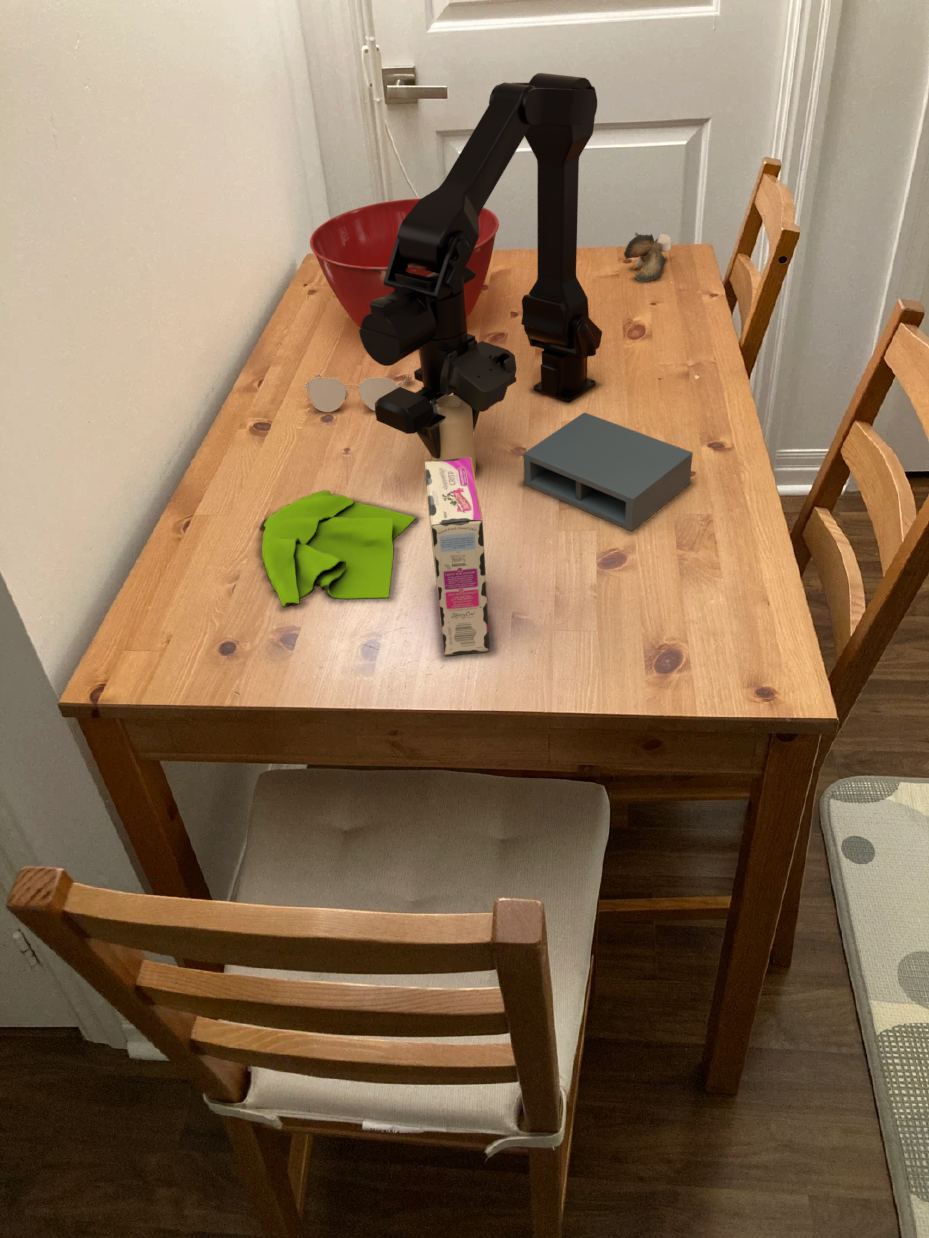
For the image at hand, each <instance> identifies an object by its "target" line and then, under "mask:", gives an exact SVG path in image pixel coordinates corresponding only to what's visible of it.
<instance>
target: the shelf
mask: <svg viewBox="0 0 929 1238" xmlns="http://www.w3.org/2000/svg"><path fill="white" fill-rule="evenodd" d="M692 462H693V452H692V451H690V450H687V449H684V448H681V447H679V446H676V445H674V444H671V443H668V442H666V441H663V440H661V439H657V438H655V437H652V436H650V435H647V434H645V433H641V432H638V431H636V430H634V429H630V428H628V427H625V426H623V425H620V424H617V423H614V422H612V421H609V420H607V419H603V418H602V417H598V416H595V415H593V414H590V413H587V412H583V413H581V414H579V415H577V417H575V418H574V419H572V420H571V421H569V422H568V423H566V424H564V425H563V426H562V427H560V428H558V429H557V430H556V431H554V432H553V433H552V434H550V435H548V436H547V437H546V438H544V439H543V440H541V441H540V442H538V443H537V444H535V445H534V446H532V447H531V448H529V449H527V450H526V451H524V453H523V476H524V477H523V479H524V480H523V481H524V482H523V483H524V485H525V486H527V487H529V488H531V489H534V490H536V491H538V492H541V493H543V494H545V495H548V496H550V497H552V498H554V499H557V500H558V501H562V502H564V503H566V504H568V505H570V506H572V507H575V508H577V509H579V510H581V511H584V512H586V513H589V514H590V515H593V516H595V517H598V518H600V519H602V520H604V521H606V522H609V523H610V524H613V525H616V526H618V527H620V528H623V529H624V530H627V531H629V532H633V531H635V529H637V528H638V527H639V526H640V525H642V524H643V523H644V522H645V521H646V520H648V519H649V518H650V517H651V516H653V515H654V514H655V513H657V511H659V510H661V508H663V506H665V505H666V504H667V503H669V502H670V501H671V500H672V499H673V498H675V497H676V496H677V495H679V493H681V492H683V491H684V490H685V489H686V488H687V487H688V486H689V485H690V483H691V473H692V465H693V464H692Z"/></svg>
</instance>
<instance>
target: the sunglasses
mask: <svg viewBox="0 0 929 1238" xmlns="http://www.w3.org/2000/svg"><path fill="white" fill-rule="evenodd" d="M407 379H408V380H407ZM406 381H408V383H410V382H411V380H410V375H409V374H407V375H406V377H405V378H404V380H403V381H402V383H401V384H397V383H396V382H395V381H394V380H393V379H391V378H389V377H384V376H378V377H368V378H365V379H363V380H362V381H361V383H360V384H356V383H347V384H344V383H343V382H342V381H341V380H340V379H337V378H334V377H327V376H326V377H325V376H321V375H320V374H317V375H315V376H314V377H313V378H311V379H310V380H309V381H307V382H306V383H304V384H303V387H304V388H307V394H308V397H309V400H310V403H311V404H312V405H313V406H314V408H316V410H317V411H320V412H323V413H331V412H332V413H333V412H335V411H337V410H338V409H339V408H340V407H341V406H342V404H343V403H344V402H345V401H346V400H347V398H348V397H349V393H350V392H349V390H348V389H347V388H346V387H348V386H356V387H358V396H359V397H360V398H361V400H362V401H363V403H364V405H365V406H366V407H368V408H369V409H370V410H371V411H373V412H375V402H376V401H377V400H378V399H379V398H381V397H382V396H384V395H386V394H388V393H390V392H391V391H393V390H395V389H397V388H398V387H402V388H403V385H404V384H405V382H406Z"/></svg>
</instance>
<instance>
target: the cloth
mask: <svg viewBox="0 0 929 1238" xmlns="http://www.w3.org/2000/svg"><path fill="white" fill-rule="evenodd" d="M415 520H416V516H412V515H409V514H405V513H401V512H397V511H394V510H390V509H386V508H382V507H378V506H375V505H370V504H369V505H368V504H365V503H362V502H356V501H355V500H353V499H351V498H350V497H348V496H346V495H342V494H332V493H331V492H330V490H321V491H316V492H313V493H311V494H309V495H306V496H302V497H300V498H298V499H297V500H295V501H293V502H291V503H289V504H287V505H285V506H283V507H281V508H280V509H279V510H277V511H275V513H273V514H271V515H269V516H268V517H267V518H266V519H265V521H264V523H263V524H262V526H263V527H264V530H263V533H262V534H263V535H262V544H261V555H262V556H261V558H262V562H263V565H264V567H265V572H266V575H267V578H269V581H270V584H271V586H272V589H273V590H274V592H275V593H276V594H277V597H278V598H279V601H280V603H281V606H282V607H287V606H289V605H291V604H297V605H299V604H300V599H302V598H304V597H305V596H307V595H308V594H310V593H311V592H312V591H313V590H314V583H315V584H317V585H319V586H320V589H323V590H325V592H326V594H328V595H329V596H330V597H332V598H334V599H340V600H341V599H342V600H343V599H344V600H345V599H347V600H348V599H349V600H350V599H351V600H355V599H356V600H357V599H361V600H362V599H388V598H389V597H390V596H389V595H390V591H391V590H390V589H391V579H392V573H393V561H394V544H393V542H394V540H395V539H396V538H397V537H398V536H399V535H400V534H402V533H403V532H405V530H407V528H408V527H409V526H410V525H411V524H412V523H413V522H414V521H415Z"/></svg>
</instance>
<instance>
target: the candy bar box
mask: <svg viewBox="0 0 929 1238" xmlns="http://www.w3.org/2000/svg"><path fill="white" fill-rule="evenodd" d="M424 471H425V486H426V498H427V507H428V508H427V509H428V520H429V527H430V528H429V530H430V539H431V549H432V558H433V567H434V578H435V586H436V596H437V605H438V614H439V615H438V616H439V622H440V623H439V624H440V630H441V631H440V632H441V638H442V649H443V655H444V656H455V655H457V656H458V655H465V654H478V653H479V654H480V653H484V652H490V650H491V647H490V630H489V612H488V609H489V608H488V591H487V574H486V573H487V572H486V558H485V557H486V556H485V539H484V538H485V537H484V536H485V535H484V523H483V522H484V521H483V513H482V509H481V508H482V507H481V505H480V499H479V492H478V487H477V481H476V474H474V468H473V463H472V458H471V457H470V458H458V459H449V460H440V461H432V460H431V461H425V462H424Z"/></svg>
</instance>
